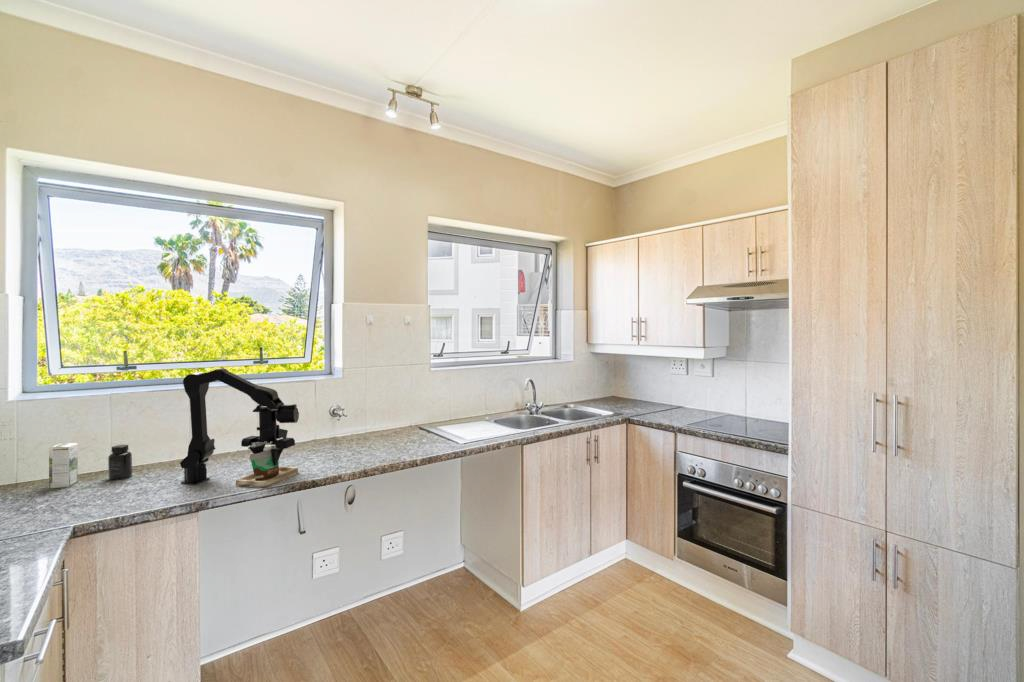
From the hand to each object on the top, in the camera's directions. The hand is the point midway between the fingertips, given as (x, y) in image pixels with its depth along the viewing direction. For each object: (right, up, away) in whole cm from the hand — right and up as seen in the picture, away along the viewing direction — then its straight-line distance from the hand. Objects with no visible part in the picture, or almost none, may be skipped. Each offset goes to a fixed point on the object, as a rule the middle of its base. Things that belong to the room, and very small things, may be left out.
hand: (268, 465), depth 174 cm
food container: (+1, -4, 0) cm, 4 cm away
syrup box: (-69, -5, -8) cm, 70 cm away
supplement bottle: (-56, -5, +1) cm, 56 cm away
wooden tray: (0, -5, 0) cm, 5 cm away
